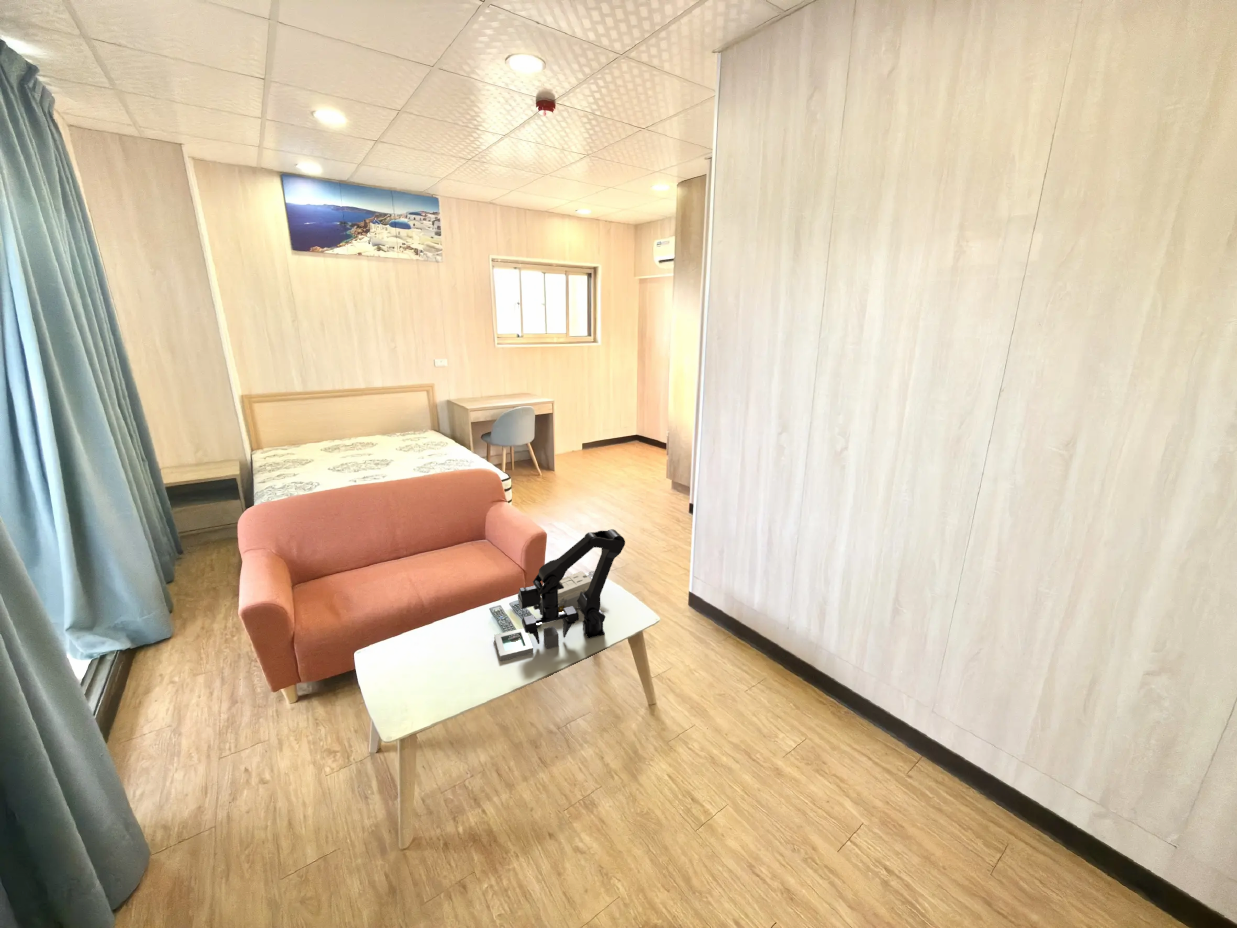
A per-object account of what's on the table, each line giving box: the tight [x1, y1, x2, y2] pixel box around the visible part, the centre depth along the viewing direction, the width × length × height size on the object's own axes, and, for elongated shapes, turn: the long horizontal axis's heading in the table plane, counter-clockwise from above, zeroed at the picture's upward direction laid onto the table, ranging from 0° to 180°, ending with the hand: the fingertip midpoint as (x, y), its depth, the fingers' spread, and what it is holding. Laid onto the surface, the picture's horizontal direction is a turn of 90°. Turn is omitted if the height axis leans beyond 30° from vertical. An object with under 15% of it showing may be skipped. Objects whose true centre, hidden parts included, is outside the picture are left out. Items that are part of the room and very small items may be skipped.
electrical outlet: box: [540, 570, 595, 613], centre depth 190 cm, size 12×28×10 cm, turn 122°
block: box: [542, 625, 560, 650], centre depth 168 cm, size 4×5×5 cm
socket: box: [493, 627, 534, 662], centre depth 166 cm, size 11×12×2 cm
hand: (551, 639), depth 168 cm, fingers open, 9 cm apart
